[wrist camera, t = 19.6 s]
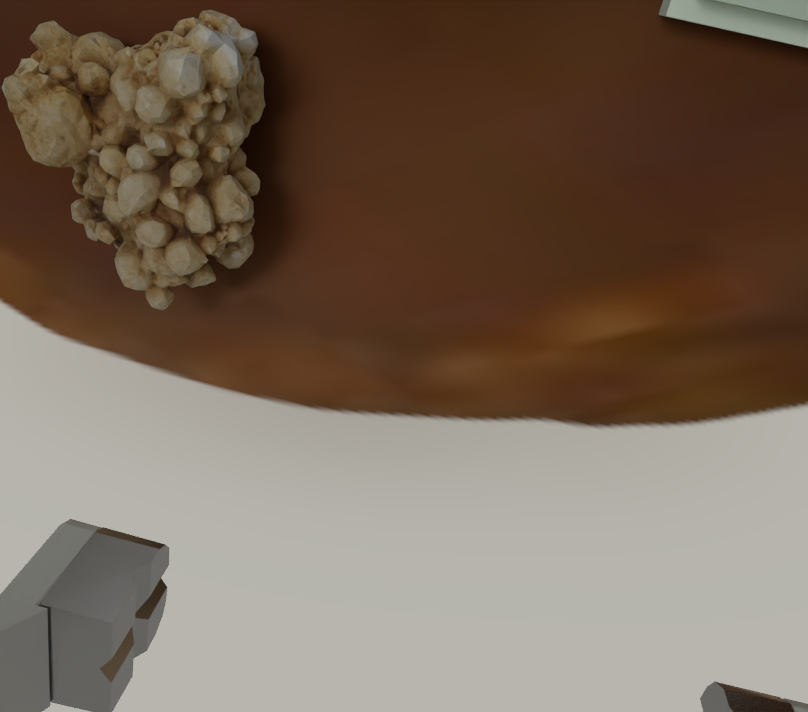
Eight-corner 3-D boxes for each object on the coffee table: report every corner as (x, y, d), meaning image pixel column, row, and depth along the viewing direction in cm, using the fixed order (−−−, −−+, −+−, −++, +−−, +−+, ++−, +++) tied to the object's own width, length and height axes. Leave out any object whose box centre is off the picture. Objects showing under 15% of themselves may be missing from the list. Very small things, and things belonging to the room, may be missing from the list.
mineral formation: (280, 6, 38) (312, 286, 44) (68, 27, 42) (122, 281, 48) (194, -2, 31) (246, 333, 37) (-50, 24, 35) (30, 322, 41)
